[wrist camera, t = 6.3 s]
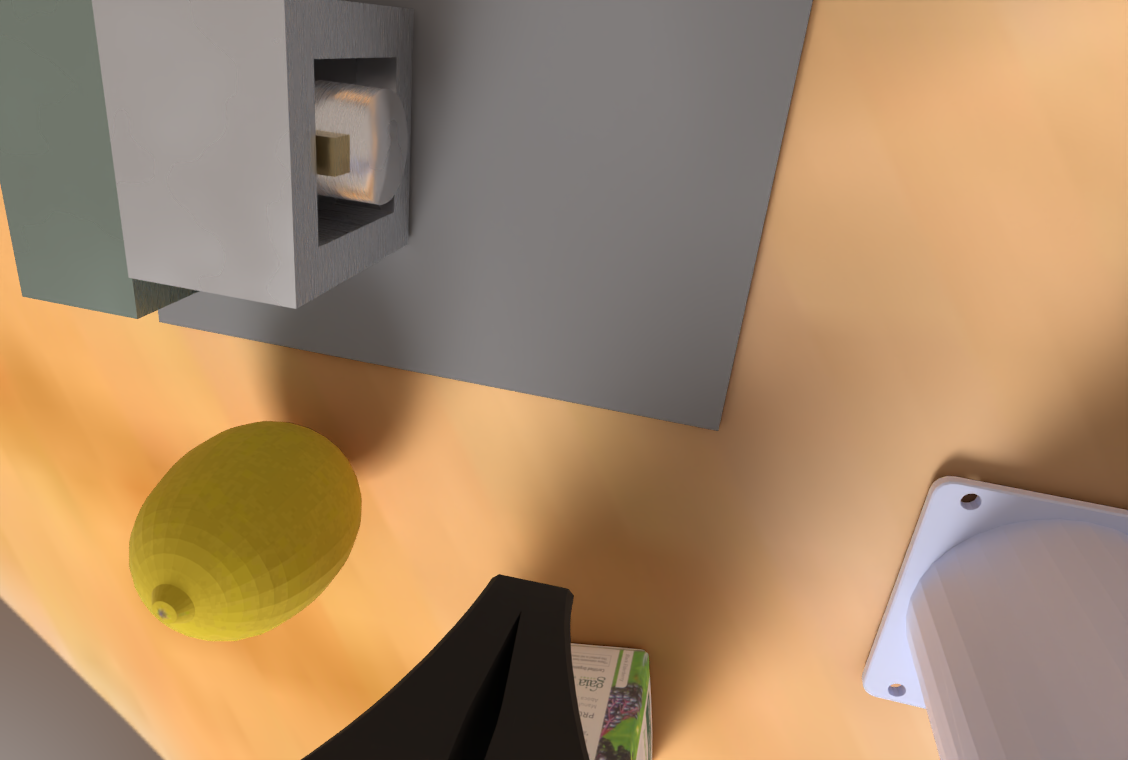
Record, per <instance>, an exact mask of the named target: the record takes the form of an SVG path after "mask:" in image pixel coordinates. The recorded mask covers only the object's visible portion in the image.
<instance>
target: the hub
mask: <svg viewBox="0 0 1128 760" xmlns="http://www.w3.org/2000/svg"><path fill="white" fill-rule="evenodd" d="M92 6H93V14H94V21H95V29H96V36H97V44H98V51H99V59H100V66H101V74H102V82H103V89H104V97H105V104H106V112H107V119H108V127H109V134H110V142H111V149H112V157H113V164H114V172H115V179H116V187H117V194H118V202H119V209H120V217H121V224H122V232H123V239H124V247H125V254H126V262H127V269H128V277H129V278H133V279H138V280H144V281H149V282H154V283H160V284H165V285H171V286H176V287H181V288H187V289H192V290H197V291H203V292H208V293H213V294H219V295H224V296H229V297H235V298H240V299H246V300H251V301H256V302H262V303H267V304H272V305H278V306H283V307H288V308H294V309H297V308H299V307H300V306H302V305H304V304H306V303H307V302H309V301H311V300H313V299H314V298H316V297H318V296H319V295H321V294H323V293H325V292H326V291H328V290H330V289H331V288H333V287H335V286H337V285H338V284H340V283H342V282H344V281H345V280H347V279H349V278H350V277H352V276H354V275H356V274H357V273H359V272H361V271H363V270H364V269H366V268H368V267H369V266H371V265H373V264H375V263H376V262H378V261H380V260H382V259H383V258H385V257H387V256H388V255H390V254H392V253H394V252H395V251H397V250H399V249H400V248H402V247H404V246H406V245H407V244H408V222H409V181H410V140H411V99H412V58H413V18H414V9H408V8H400V7H391V6H383V5H375V4H366V3H358V2H350V1H342V0H92ZM314 79H318V80H325V81H332V82H340V83H347V84H354V85H361V86H369V87H376V88H383V89H390V90H392V91H394V92H395V93H396V94H397V95H398V97H399V99H400V101H401V103H402V105H403V108H404V112H405V116H406V122H407V134H408V144H407V157H406V163H405V168H404V173H403V176H402V179H401V182H400V185H399V187H398V189H397V191H396V193H395V195H394V196H393V198H392V199H391V200H390V201H389V202H388V203H386V204H383V205H377V204H371V203H365V202H359V201H353V200H346V199H340V198H334V197H328V196H322V195H317V168H316V129H315V89H314Z"/></svg>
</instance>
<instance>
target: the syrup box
mask: <svg viewBox="0 0 1128 760" xmlns="http://www.w3.org/2000/svg"><path fill="white" fill-rule="evenodd" d="M571 655H572V666H573V674H574V681H575V689H576V696H577V702H578V708H579V714H580V719H581V724H582V728H583V733H584V738H585V743H586V747H587V751H588V755H589V759H590V760H652V708H651V687H650V671H649V655H648V653H647V652H645V651H644V650H642V649H631V648H621V647H609V646H597V645H585V644H575V643H571Z"/></svg>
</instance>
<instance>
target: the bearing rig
mask: <svg viewBox="0 0 1128 760" xmlns="http://www.w3.org/2000/svg"><path fill="white" fill-rule="evenodd" d="M314 89H315V129H316V168H317V195H322V196H328V197H334V198H340V199H346V200H353V201H359V202H365V203H371V204H377V205H383V204H386V203H388V202H389V201H390V200H391V199H392V198H393V196H394V195H395V193H396V191H397V189H398V187H399V185H400V182H401V179H402V176H403V173H404V168H405V163H406V157H407V144H408V134H407V122H406V116H405V112H404V108H403V105H402V103H401V101H400V99H399V97H398V95H397V94H396V93H395V92H394V91H392V90H390V89H383V88H376V87H369V86H361V85H354V84H347V83H340V82H332V81H325V80H318V79H314ZM0 184H1V189H2V194H3V199H4V204H5V209H6V214H7V220H8V225H9V230H10V235H11V240H12V245H13V250H14V255H15V260H16V266H17V271H18V276H19V281H20V286H21V291H22V296H23V297H28V298H33V299H38V300H43V301H48V302H53V303H59V304H64V305H69V306H74V307H79V308H84V309H89V310H94V311H100V312H105V313H110V314H115V315H120V316H125V317H130V318H135V319H138V318H141V317H143V316H145V315H147V314H150V313H152V312H154V311H156V310H159V309H161V308H163V307H165V306H168V305H170V304H172V303H174V302H177V301H179V300H181V299H183V298H186V297H188V296H190V295H192V294H195V293H197V292H199V291H197V290H192V289H187V288H181V287H176V286H171V285H165V284H160V283H154V282H149V281H144V280H138V279H133V278H129V277H128V269H127V262H126V254H125V247H124V239H123V232H122V224H121V217H120V209H119V202H118V194H117V187H116V179H115V172H114V164H113V157H112V149H111V142H110V134H109V127H108V119H107V112H106V104H105V97H104V89H103V82H102V74H101V66H100V59H99V51H98V44H97V36H96V29H95V21H94V14H93V6H92V0H0Z"/></svg>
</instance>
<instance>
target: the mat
mask: <svg viewBox="0 0 1128 760" xmlns="http://www.w3.org/2000/svg"><path fill="white" fill-rule="evenodd" d="M342 1H350V2H358V3H366V4H375V5H383V6H391V7H400V8H408V9H414V18H413V58H412V99H411V140H410V181H409V222H408V244H407V245H406V246H404V247H402V248H400V249H399V250H397V251H395V252H394V253H392V254H390V255H388V256H387V257H385V258H383V259H382V260H380V261H378V262H376V263H375V264H373V265H371V266H369V267H368V268H366V269H364V270H363V271H361V272H359V273H357V274H356V275H354V276H352V277H350V278H349V279H347V280H345V281H344V282H342V283H340V284H338V285H337V286H335V287H333V288H331V289H330V290H328V291H326V292H325V293H323V294H321V295H319V296H318V297H316V298H314V299H313V300H311V301H309V302H307V303H306V304H304V305H302V306H300V307H299V308H297V309H294V308H288V307H283V306H278V305H272V304H267V303H262V302H256V301H251V300H246V299H240V298H235V297H229V296H224V295H219V294H213V293H208V292H203V291H199V292H197V293H195V294H192V295H190V296H188V297H186V298H183V299H181V300H179V301H177V302H174V303H172V304H170V305H168V306H165V307H163V308H161V309H159V310H158V314H159V322H162V323H167V324H172V325H177V326H183V327H188V328H193V329H198V330H203V331H208V332H213V333H218V334H224V335H229V336H234V337H239V338H244V339H249V340H254V341H259V342H265V343H270V344H275V345H280V346H285V347H290V348H295V349H301V350H306V351H311V352H316V353H321V354H326V355H331V356H336V357H342V358H347V359H352V360H357V361H362V362H367V363H372V364H377V365H383V366H388V367H393V368H398V369H403V370H408V371H413V372H418V373H424V374H429V375H434V376H439V377H444V378H449V379H454V380H459V381H465V382H470V383H475V384H480V385H485V386H490V387H495V388H501V389H506V390H511V391H516V392H521V393H526V394H531V395H536V396H542V397H547V398H552V399H557V400H562V401H567V402H572V403H577V404H583V405H588V406H593V407H598V408H603V409H608V410H613V411H618V412H624V413H629V414H634V415H639V416H644V417H649V418H654V419H659V420H665V421H670V422H675V423H680V424H685V425H690V426H695V427H701V428H706V429H711V430H716V431H718V430H719V425H720V421H721V416H722V412H723V407H724V402H725V398H726V393H727V389H728V384H729V380H730V375H731V371H732V366H733V362H734V357H735V352H736V348H737V343H738V339H739V334H740V330H741V325H742V321H743V316H744V311H745V307H746V302H747V298H748V293H749V289H750V284H751V280H752V275H753V270H754V266H755V261H756V257H757V252H758V248H759V243H760V239H761V234H762V230H763V225H764V220H765V216H766V211H767V207H768V202H769V198H770V193H771V189H772V184H773V179H774V175H775V170H776V166H777V161H778V157H779V152H780V148H781V143H782V139H783V134H784V129H785V125H786V120H787V116H788V111H789V107H790V102H791V98H792V93H793V88H794V84H795V79H796V75H797V70H798V66H799V61H800V57H801V52H802V48H803V43H804V38H805V34H806V29H807V25H808V20H809V16H810V11H811V7H812V2H813V0H342Z"/></svg>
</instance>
